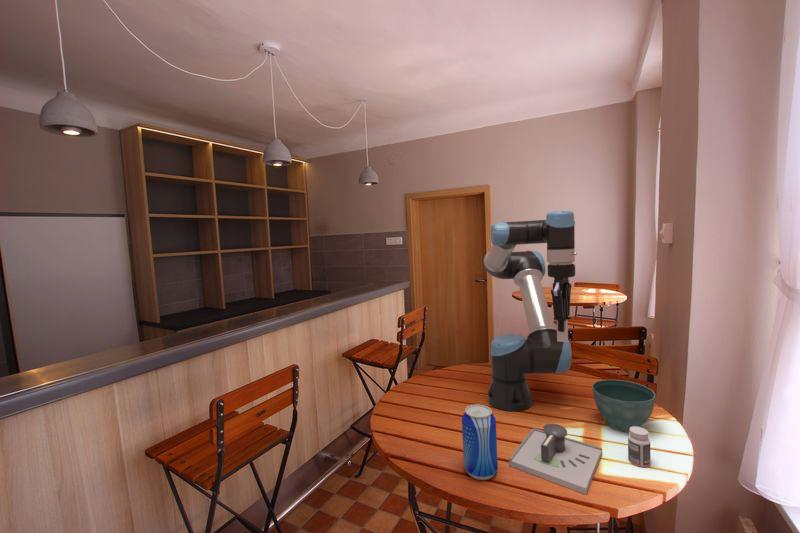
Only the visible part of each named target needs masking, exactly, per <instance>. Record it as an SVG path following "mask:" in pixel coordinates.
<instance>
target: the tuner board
mask: <svg viewBox="0 0 800 533" xmlns="http://www.w3.org/2000/svg"><path fill="white" fill-rule="evenodd" d="M545 439H546V434H545V433H544V429H543V430H541V429H539V428H536V427H532V428H531V431H530V432H528V434H527V435H526V436H525V438H524V439H523V440H522V442H521V443H520V444H519V445H518V447H517V448H516V449H515V450H514V452H513V453H512V454H511V455H510V456H509V457H508V466H509V467H511V468H514V469H517V470H519V471H522V472H524V473H527V474H530V475H533V476H536V477H538V478H541V479H544V480H547V481H549V482H552V483H554V484H557V485H560V486H562V487H565V488H568V489H569V490H573V491H575V492H577V493H578V492H579V493H581V494H583V495H587V493H588V491H589V489H590V486H591V484H592V481H593V478H594V476H595V474H596V471H597V468H598V466H599V465H600V464H599V463H600V461H601V458H602V456H603V448H602V447H600V446H598V445H593V444H591V443H587V442H583V441H580V440H576V439H573V438H571V437H567V436H565V450H564V451H563V452H555V453H554V455H553V456H552V458H553V459H558V460H559V468H558V467H553V466H551V464H550V465H546V464H543V463H541V462H542V461H541V462H539V461H537V460H535V459H534V457H536V456H537V455H539V454H540V453H541V444H542V443H543V442H544V440H545ZM579 454H581V455H584V456H587V457H590V458H589V459H587V458H584V457H581V456H579ZM575 458H578V459H580V460H582V461H584V462H585V464H583V463H581V462H579V461H577V460H576V459H575ZM560 460H561V461H563V462H564V464H565V466H566V467H563V466H562V464H561V462H560ZM568 460H571V461H572V462H573V463H574V464H576V465H577V467H574V466H573V465H572V464H571V463H570V462H569V461H568Z"/></svg>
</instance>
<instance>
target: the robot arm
mask: <svg viewBox="0 0 800 533" xmlns="http://www.w3.org/2000/svg"><path fill="white" fill-rule="evenodd" d="M574 214H575V213H574V212H573V211H572V210H557V211H549V212H547V213H546V218H545V219H537V220H524V221H522V220H521V221H519V220H518V221H501V222H496V223H495V222H494V223H493V224H491V226H490V242H491V247H490V250H489V251H488V252H487V253H486V254H485V256H484V258H483V263H482V264H483V267H484V270H485V271H486V272H487V274H489V275H491V277H494V278H496V279H500V280H513V282H514V284H515V285H516V286H517V287H519V291H520V292H519V293H520V295H521V296H520V297H521V301H522V304H523V309H524V313H525V316H526V322H527V326H528V330H529V333H528V334H527V336H526V337H525V336H524V335H522V334H517V333H516V334H515V333H511V334H509V333H508V334H503V335H499V336H497V337H495V338H493V340H492V341H491V343H490V351H489V352H490V353H489V354H490V357H491V358H490V360H491V361H490V362H491V381H490V385H489V389H488V391H487V402H488V404H489V405H490V406H492V407H493V408H496V409H498V410H502V411H507V412H521V411H525V410H528V409H529V408H531V406H532V405H533V396H532V393H531V391H530V388H529V386H528V383H527V374H554V375H555V374H559V373H560V374H561V373H563V374H564V373H567V372H568V371H569V370H570V368H571V364H572V358H573V356H572V346H571V345H572V344H571V341H570V340H569V326H568V325H569V321H568V320H571V319H572V317H571V316H570V315H571V313H570V312H571V296H572V295H571V294H572V293H571V292H572V284H571V282H570V280H569V278H574V277H575V276H576V264H575V262H576V257H575V256H577V254H578V252H576V250H575V248H576V247H575V246H576V245H575V236H576V235H575V234H576V233H575V232H576V231H575V228H576V227H575V225H576V221H575V215H574ZM535 244H546V262H547V263H548V264H547V277H549V278H553V279H554V280H553V283H552V289H550V294H551V298H552V300H551V301H552V310H553V320H552V316H551V313H550V309H549V306H548V303H547V300H546V295H545V292H544V289H543V285H542V282H541V281H542V280H543V277H544V276H545V275H546V262H545V259H544V257H543V255H542V253H541V252H539V251H537V250H524V251H523V250H522V251H514V249H515V248H516V246H517V245H518V246H519V245H535ZM553 321H556V328H555V327H554V322H553Z"/></svg>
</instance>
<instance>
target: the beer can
mask: <svg viewBox="0 0 800 533" xmlns="http://www.w3.org/2000/svg"><path fill="white" fill-rule="evenodd" d="M461 430H462V452H463V467H464V470H465V471H466V472H467V474H468V475H469V476H470V477H471V478H473V479H475V480H479V481H487V480H491V479H492V478H493V477H494V476H495V474H497V472H498V469H499V468H498V466H499V465H498V444H497V443H498V439H497V434H498V433H497V420H496V417H495V416H494V414H493V411H492V408H490V407H489V406H487V405H485V404H479V403H477V404H471V405H468V406H467V407H465V409H464V413H463V414H462V417H461Z"/></svg>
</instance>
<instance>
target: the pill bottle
mask: <svg viewBox="0 0 800 533" xmlns="http://www.w3.org/2000/svg"><path fill="white" fill-rule="evenodd" d="M627 452H628V454H627V458H628V461H629V462H630V463H631V464H632V465H635V466H637V467H640V468H647V467H649V466H651V462H652V460H651V440H650V438H649V431H648V430H647V429H646V428H643V427H642V428H641V427H636V426H633V427H630V429H629V432H628V435H627Z"/></svg>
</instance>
